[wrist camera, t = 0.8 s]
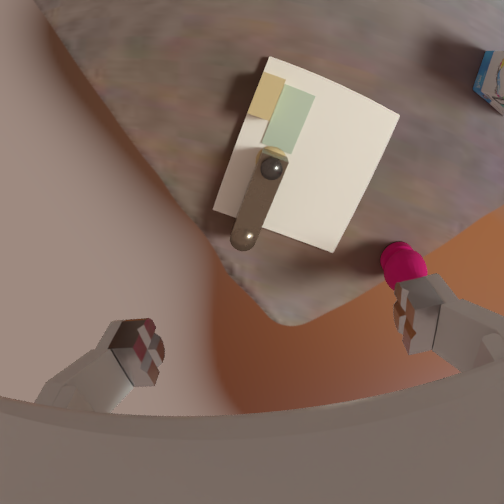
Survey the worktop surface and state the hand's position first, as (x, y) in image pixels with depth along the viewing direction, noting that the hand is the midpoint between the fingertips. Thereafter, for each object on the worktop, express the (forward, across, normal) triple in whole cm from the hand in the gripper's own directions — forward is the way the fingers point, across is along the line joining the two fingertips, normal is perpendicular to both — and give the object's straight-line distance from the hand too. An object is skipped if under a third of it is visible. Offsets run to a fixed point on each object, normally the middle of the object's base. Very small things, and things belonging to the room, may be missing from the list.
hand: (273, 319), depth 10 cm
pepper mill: (+39, -19, +22) cm, 48 cm away
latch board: (+38, -5, +3) cm, 39 cm away
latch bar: (+37, +3, +7) cm, 38 cm away
